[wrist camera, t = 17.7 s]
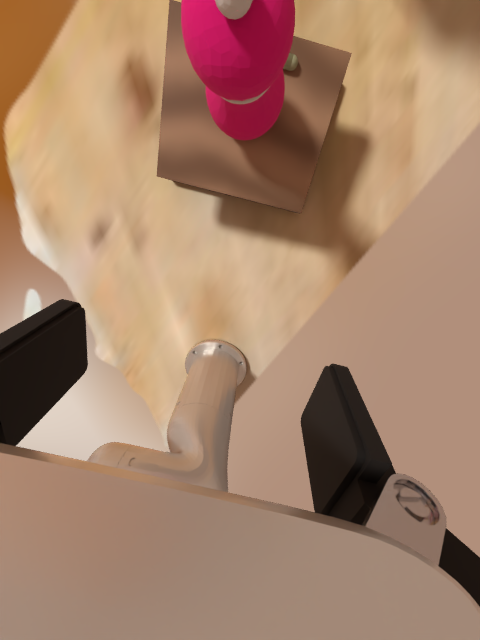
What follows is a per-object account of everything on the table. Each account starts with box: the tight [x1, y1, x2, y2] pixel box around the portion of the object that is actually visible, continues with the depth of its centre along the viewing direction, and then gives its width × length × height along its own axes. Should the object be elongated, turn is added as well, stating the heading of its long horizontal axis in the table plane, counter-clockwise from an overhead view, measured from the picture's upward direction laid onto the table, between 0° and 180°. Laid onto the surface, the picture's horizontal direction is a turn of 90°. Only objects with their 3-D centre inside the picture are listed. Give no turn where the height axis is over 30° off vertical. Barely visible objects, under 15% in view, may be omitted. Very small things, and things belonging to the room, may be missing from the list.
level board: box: [157, 0, 352, 213], centre depth 29 cm, size 15×18×2 cm
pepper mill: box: [181, 0, 295, 140], centre depth 19 cm, size 7×7×20 cm
